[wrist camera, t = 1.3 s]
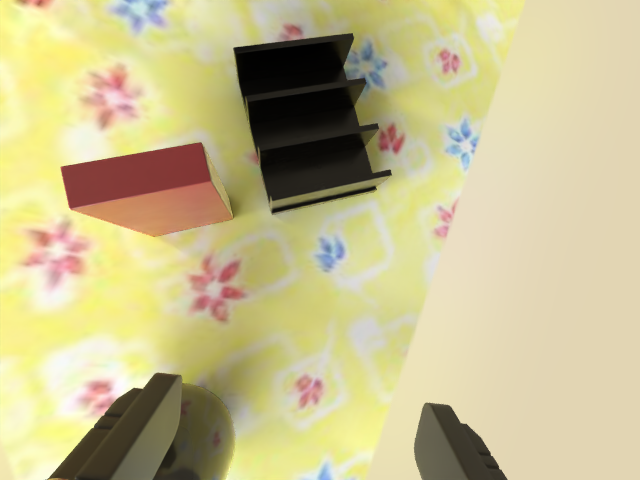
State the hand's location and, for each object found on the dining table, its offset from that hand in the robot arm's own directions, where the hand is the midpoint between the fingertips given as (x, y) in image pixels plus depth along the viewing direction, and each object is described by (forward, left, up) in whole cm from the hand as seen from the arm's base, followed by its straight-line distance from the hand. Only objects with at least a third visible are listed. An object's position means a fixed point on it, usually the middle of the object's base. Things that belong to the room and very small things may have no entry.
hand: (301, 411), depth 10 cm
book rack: (-18, +8, -23) cm, 31 cm away
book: (-12, -6, -23) cm, 27 cm away
